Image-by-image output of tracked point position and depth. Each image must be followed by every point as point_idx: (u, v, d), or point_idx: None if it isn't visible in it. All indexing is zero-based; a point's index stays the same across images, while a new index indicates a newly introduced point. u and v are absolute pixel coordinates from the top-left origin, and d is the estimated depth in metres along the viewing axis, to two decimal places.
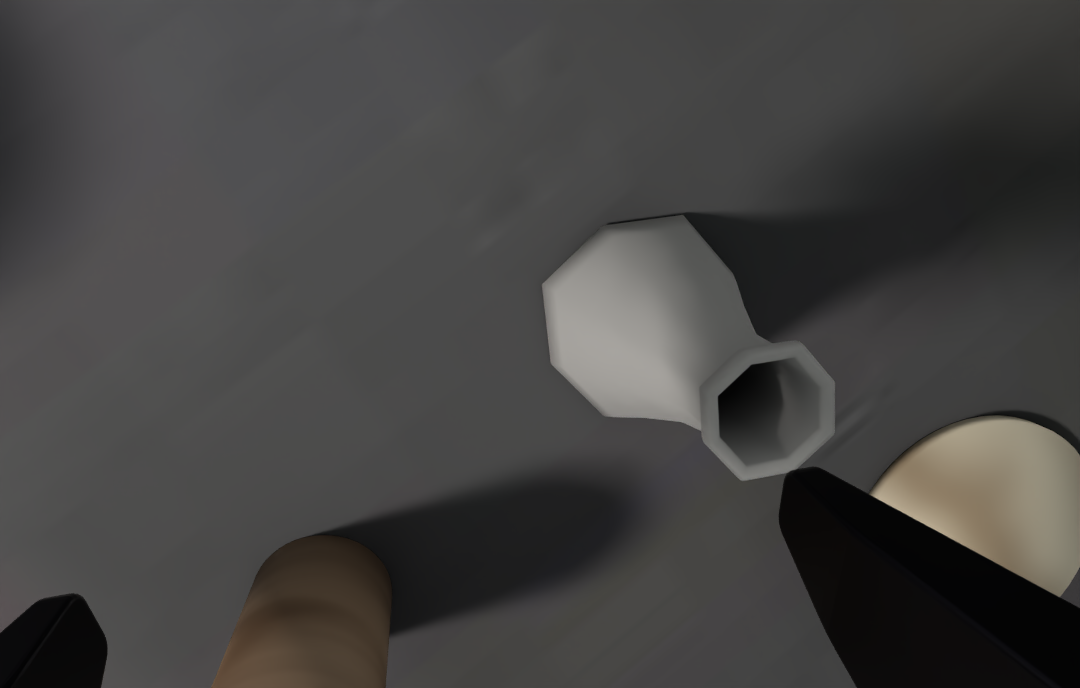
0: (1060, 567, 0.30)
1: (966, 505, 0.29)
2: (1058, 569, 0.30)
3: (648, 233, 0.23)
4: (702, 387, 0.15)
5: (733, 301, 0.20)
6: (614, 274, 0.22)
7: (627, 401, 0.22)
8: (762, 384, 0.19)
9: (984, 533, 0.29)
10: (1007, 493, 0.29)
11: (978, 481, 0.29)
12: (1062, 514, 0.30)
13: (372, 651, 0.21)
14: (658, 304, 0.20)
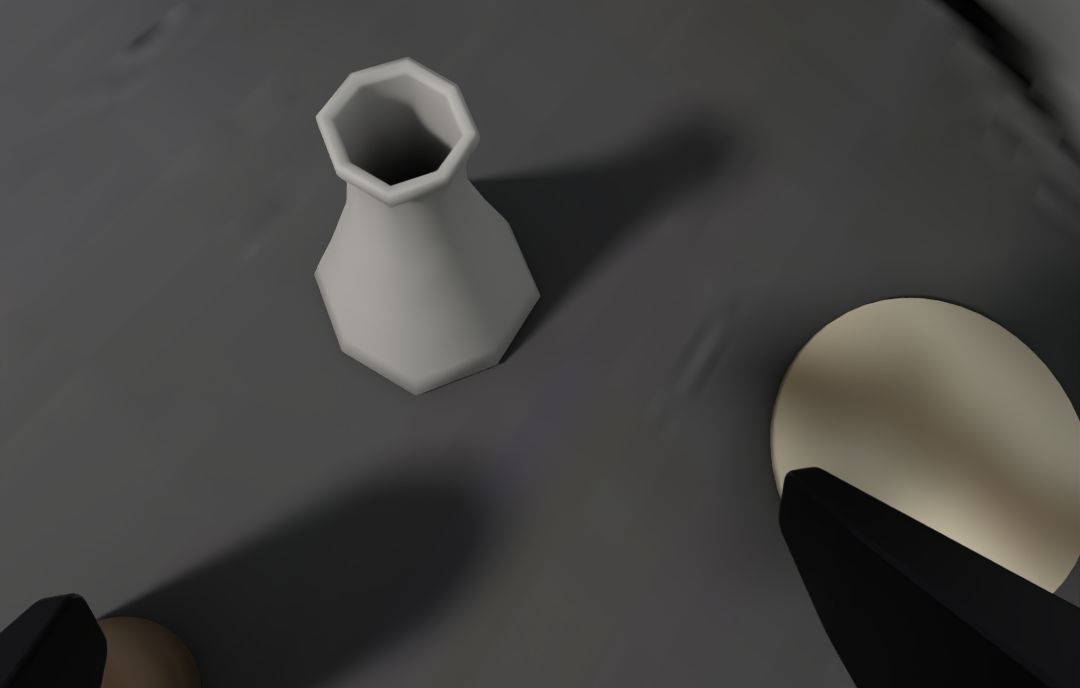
0: (1066, 463, 0.24)
1: (891, 407, 0.24)
2: (1064, 466, 0.24)
3: None
4: None
5: None
6: None
7: (387, 316, 0.20)
8: (472, 202, 0.18)
9: (936, 438, 0.24)
10: (933, 383, 0.24)
11: (889, 375, 0.24)
12: (1020, 394, 0.24)
13: None
14: None
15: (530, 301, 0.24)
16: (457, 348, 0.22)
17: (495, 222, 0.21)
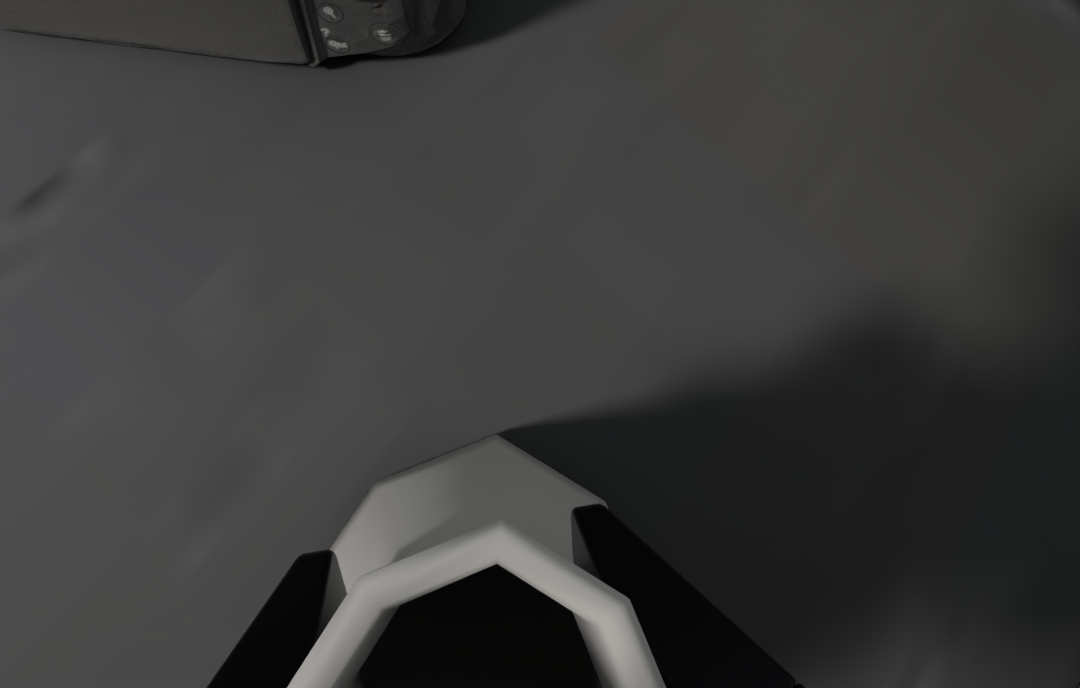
0: None
1: None
2: None
3: (431, 469, 0.14)
4: None
5: (535, 523, 0.11)
6: (359, 544, 0.13)
7: None
8: None
9: None
10: None
11: None
12: None
13: None
14: (385, 563, 0.10)
15: None
16: None
17: None
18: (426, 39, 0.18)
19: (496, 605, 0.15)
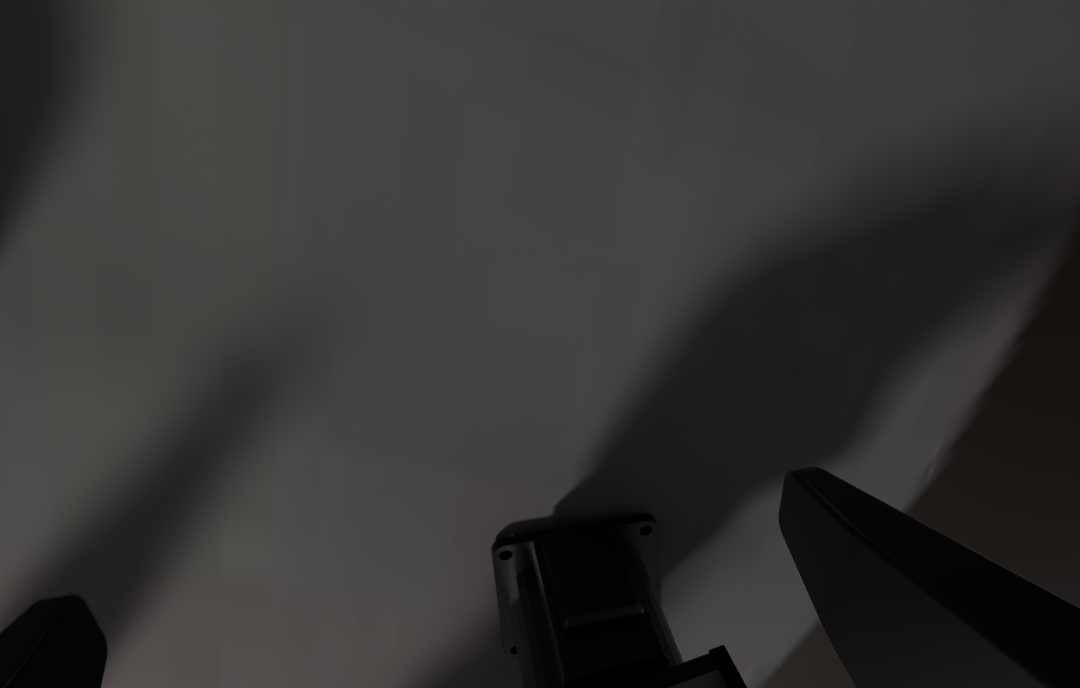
0: None
1: None
2: None
3: None
4: None
5: None
6: None
7: None
8: None
9: None
10: None
11: None
12: None
13: None
14: None
15: None
16: None
17: None
18: None
19: None
